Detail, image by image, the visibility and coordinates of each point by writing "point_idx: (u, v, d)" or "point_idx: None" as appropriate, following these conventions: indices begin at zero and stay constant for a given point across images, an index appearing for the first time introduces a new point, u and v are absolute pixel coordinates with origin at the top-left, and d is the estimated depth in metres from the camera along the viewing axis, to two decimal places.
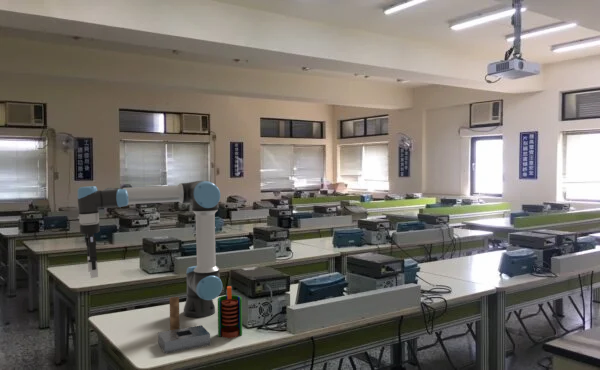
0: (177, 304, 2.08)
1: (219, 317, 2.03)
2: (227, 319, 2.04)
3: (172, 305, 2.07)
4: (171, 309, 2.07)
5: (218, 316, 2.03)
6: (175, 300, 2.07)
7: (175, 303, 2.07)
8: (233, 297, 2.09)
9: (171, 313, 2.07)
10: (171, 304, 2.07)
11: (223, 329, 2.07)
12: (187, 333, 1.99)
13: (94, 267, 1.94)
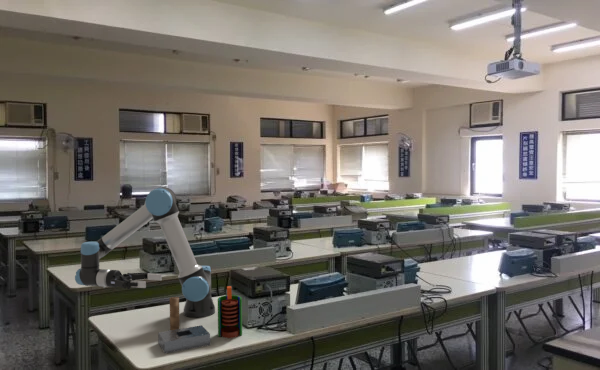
0: (177, 304, 2.08)
1: (219, 317, 2.03)
2: (227, 319, 2.04)
3: (172, 305, 2.07)
4: (171, 309, 2.07)
5: (218, 316, 2.03)
6: (175, 300, 2.07)
7: (174, 303, 2.07)
8: (233, 297, 2.09)
9: (171, 313, 2.07)
10: (171, 304, 2.07)
11: (223, 329, 2.07)
12: (187, 333, 1.99)
13: (134, 284, 2.03)
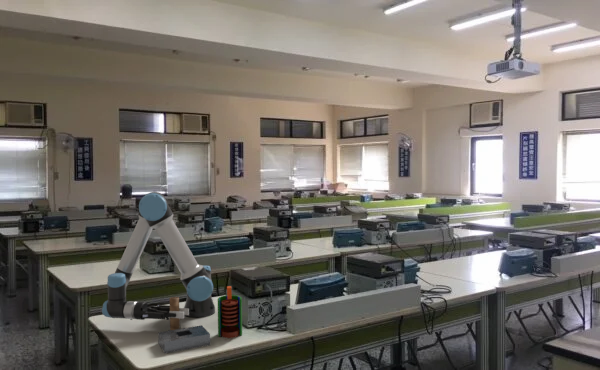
0: (177, 304, 2.08)
1: (219, 317, 2.03)
2: (227, 319, 2.04)
3: (172, 305, 2.07)
4: (171, 309, 2.07)
5: (218, 316, 2.03)
6: (175, 300, 2.07)
7: (175, 303, 2.07)
8: (233, 297, 2.09)
9: None
10: (171, 304, 2.07)
11: (223, 329, 2.07)
12: (187, 333, 1.99)
13: (172, 315, 2.05)
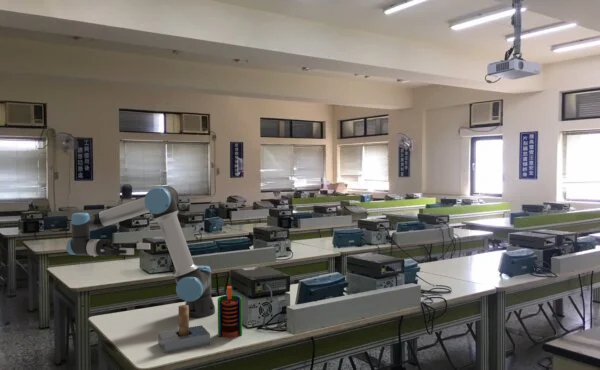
0: (187, 313, 1.93)
1: (219, 317, 2.03)
2: (227, 319, 2.04)
3: (181, 314, 1.92)
4: (180, 318, 1.93)
5: (218, 316, 2.03)
6: (185, 309, 1.93)
7: (184, 312, 1.93)
8: (233, 297, 2.09)
9: (180, 323, 1.93)
10: (180, 313, 1.93)
11: (223, 329, 2.07)
12: None
13: (122, 251, 2.09)
